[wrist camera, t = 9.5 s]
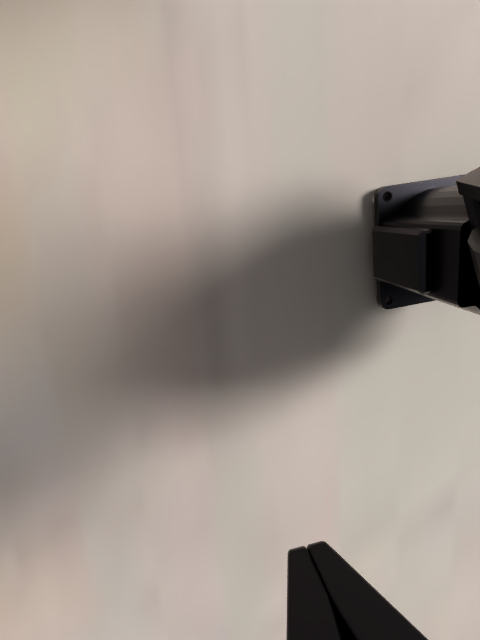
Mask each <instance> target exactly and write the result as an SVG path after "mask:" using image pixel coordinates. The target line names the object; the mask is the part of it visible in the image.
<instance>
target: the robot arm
mask: <svg viewBox="0 0 480 640" xmlns="http://www.w3.org/2000/svg"><path fill="white" fill-rule="evenodd" d="M385 192H386V193H387V195H388V198H387V200H386V201H384V200H383V194H384V193H385ZM374 209H375V229H374V230H373V267H374V277H375V278H376V284H377V303H378V305H379V306H381V307H383V308H385V309H392V308H397V307H403V306H408V305H413V304H418V303H424V302H429V301H434V300H438V301H441V302H444V303H447V304H450V305H453V306H455V307H458V308H461V309H464V310H467V311H470V312H473V313H476V314H479V315H480V167H479V168H477V169H475V170H473V171H471V172H470V173H468V174H466V175H459V176H453V177H446V178H439V179H432V180H426V181H419V182H412V183H405V184H398V185H392V186H385V187H381V188H379V189H378V190H377V191H376V193H375V196H374ZM388 296H389V301H388V302H387V303H385V299H386V297H388ZM287 640H428V639H427V638H426V637H425V636H424V635H423V634H422V633H421V632H420V631H419V630H417V629H416V628H415V627H414V626H413V625H412V624H411V623H410V622H409V621H408V620H407V619H406V618H405V617H404V616H403V615H402V614H401V613H400V612H399V611H398V610H397V609H395V608H394V607H393V606H392V605H391V604H390V603H389V602H388V601H387V600H386V599H385V598H384V597H383V596H382V595H381V594H380V593H379V592H378V591H377V590H376V589H374V588H373V587H372V586H371V585H370V584H369V583H368V582H367V581H366V580H365V579H364V578H363V577H362V576H361V575H360V574H359V573H358V572H357V571H356V570H355V569H354V568H352V567H351V566H350V565H349V564H348V563H347V562H346V561H345V560H344V559H343V558H342V557H341V556H340V555H339V554H338V553H337V552H336V551H335V550H334V549H333V548H331V547H330V546H329V545H328V544H327V543H326V542H324V541H320V542H316V543H313V544H309V545H308V546H307V548H306V547H305V546H301V547H298V548H294V549H290V550H289V551H288V574H287Z"/></svg>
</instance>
